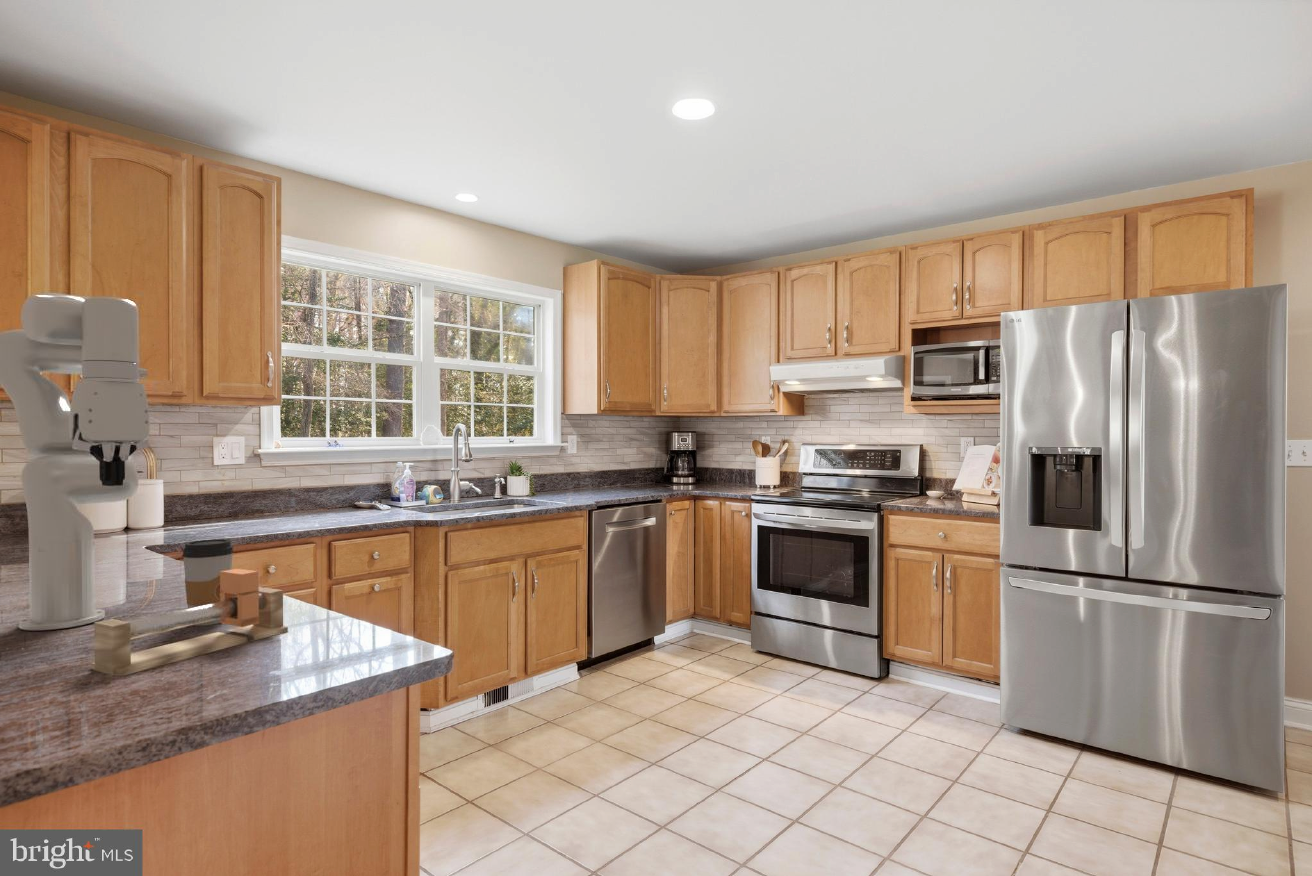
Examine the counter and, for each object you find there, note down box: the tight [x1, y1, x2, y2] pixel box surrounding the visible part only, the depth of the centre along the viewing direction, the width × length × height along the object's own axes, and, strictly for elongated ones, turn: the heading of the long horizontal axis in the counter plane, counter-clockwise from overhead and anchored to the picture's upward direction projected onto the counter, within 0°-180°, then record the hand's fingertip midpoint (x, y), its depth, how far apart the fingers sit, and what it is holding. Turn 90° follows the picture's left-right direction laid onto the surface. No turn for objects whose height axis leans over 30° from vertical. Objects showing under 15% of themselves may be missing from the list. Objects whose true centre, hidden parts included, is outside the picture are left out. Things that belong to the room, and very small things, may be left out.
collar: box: [220, 568, 260, 627], centre depth 127 cm, size 3×6×9 cm, turn 62°
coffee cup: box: [181, 538, 235, 626], centre depth 138 cm, size 8×8×15 cm
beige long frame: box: [90, 587, 289, 677], centre depth 121 cm, size 27×8×7 cm, turn 152°
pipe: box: [125, 593, 267, 640], centre depth 121 cm, size 25×3×3 cm, turn 152°
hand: (112, 485), depth 120 cm, fingers closed
